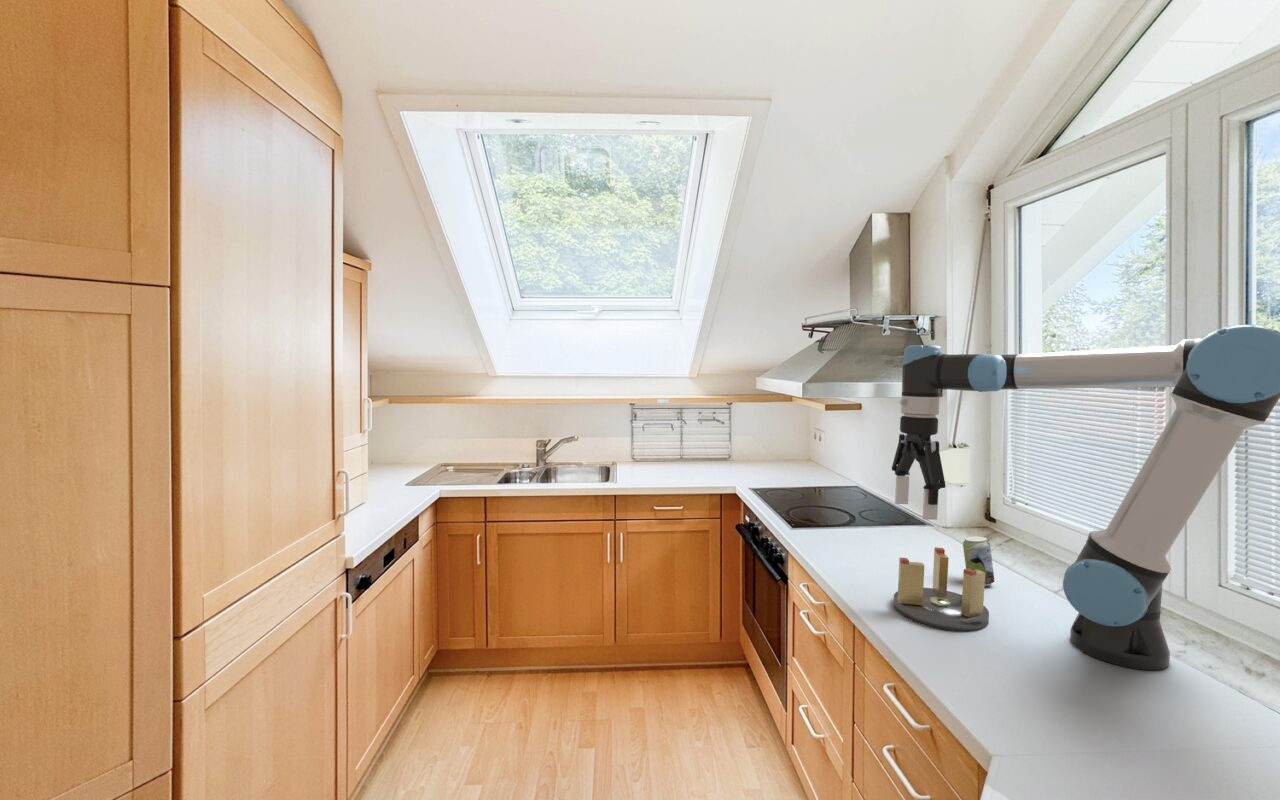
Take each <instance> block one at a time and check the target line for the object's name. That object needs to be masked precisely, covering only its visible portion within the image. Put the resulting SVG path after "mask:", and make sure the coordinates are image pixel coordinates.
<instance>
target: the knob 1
mask: <svg viewBox="0 0 1280 800" xmlns="http://www.w3.org/2000/svg"><path fill="white" fill-rule="evenodd" d="M898 559H899V560H898V561H899V562H898V581H897V582H898V583H897V591H898V602H899V603H902V604H914V605H923V588H924V583H925V581H924V580H925V564H924V563H923V562H918V561H910V559H908V557H899V558H898Z"/></svg>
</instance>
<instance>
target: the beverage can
mask: <svg viewBox="0 0 1280 800" xmlns="http://www.w3.org/2000/svg"><path fill="white" fill-rule="evenodd" d="M962 548H963V557H964V564H965V569H967V568H969V569H972V570H980V571H983V572H985V585H984V587H987V586H991V585H992V584H993V583H995V582H996V581H995V574H994V566H993V557H992V550H991V549H992V548H991V543H990V542H989V541H988V539H987V537H985V536H980V535H971V536H966V537H965V538H964V540H963V542H962Z"/></svg>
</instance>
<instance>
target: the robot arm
mask: <svg viewBox="0 0 1280 800" xmlns="http://www.w3.org/2000/svg"><path fill="white" fill-rule="evenodd" d="M903 351H904V352H903V357H902V358H903V359H902V365H901V368H902V374H901V375H902V377H901V379H902V380H901V400H899V404H900V405H901V406H900V412H901V414H903V415H901V416H900V419H899V420H900V422H899V423H900V424H899V430H900V432H901V433H899V437H898V443H897V448H896V451H895V455H894V458H893V462H892V465H891V471H893V472H894V475H895V495H894V497H895V498H894V504H895V505H908V504H909V494H910V493H909V490H910V476H911V474H910V470H911V468H912V465H913V464H914V461H916V462H918V464H919V468H920V470H921V473H922V478H923V480H924V485H923V487H922V488H923V503H922V504H923V505H922V519H923V520H929V521H931V520H937V521H938V509H939V507H938V506H939V490H941V489H945V488H946V480H945V476H944V471H943V470H944V469H943V465H942V461H941V460H942V459H941V453H940V442H939V441H937V440H931V436H933V435H938V432H939V431H938V430H939V418H938V417H936V416H938V415H939V413H940V410H939V409H940V392H941V391H940V390H944V391H945V390H946V391H947V390H951V391H952V390H953V391H965V392H966V391H969V392H979V393H984V392H985V393H989V392H999V391H1001V390H1029V389H1032V390H1036V389H1037V390H1039V389H1041V390H1043V389H1050V390H1052V389H1056V390H1057V389H1110V388H1111V389H1113V388H1114V389H1115V388H1116V389H1120V388H1126V389H1127V388H1128V389H1129V388H1130V389H1131V388H1173V390H1172V392H1171V393H1170V395H1171V398H1172V400H1173V402H1174V403H1175V409H1174V411H1173V413H1172V415H1171V417H1170V418H1169V420H1168V421H1167V424H1166V425H1165V427H1164V429H1163V430H1162V432H1161V434H1160V436H1159V438H1158V439H1157V441H1156V442H1155V444H1154V445H1153V447H1152V449H1151V451H1150V453H1149V454H1148V456H1147V458H1146V460H1145V461H1144V463H1143V465H1142V467H1141V469H1140V470H1139V472H1138V474H1137V475H1136V477H1135V479H1134V481H1133V482H1132V484H1131V486H1130V487H1129V488H1128V491H1127V493H1126V495H1125V496H1124V498H1123V499H1122V501H1121V502H1120V505H1119V507H1118V508H1117V510H1116V511H1115V513H1114V515H1113V517H1112V519H1111V520H1110V521H1109V524H1108V525H1107V527H1106V528H1105V529H1101V530H1100V529H1099V530H1092V531H1090V532H1089V533H1088V535H1087V539H1086V540H1085V544H1084V546H1083V548H1082V549H1081V551H1080V552H1079V555H1078V556H1077V558H1076V560H1075V561H1074V562H1072V563H1071V565H1069V566H1068V567H1067V568H1066V571H1065V573H1064V575H1063V581H1062V588H1063V592H1064V595H1065V597H1066V599H1067V601H1068V603H1069V604H1070V605H1071V606H1072V607H1073V609H1074V610H1075V611H1076V612H1078V613H1077V615H1076V617H1075V619H1074V621H1073V623H1072V625H1071V627H1070V634H1069V636H1070V637H1069V640H1070V643H1071V644H1072V645H1073V646H1074V647H1075V648H1077V649H1078V650H1080V651H1081V652H1083V653H1085V654H1086V655H1089V656H1091V657H1093V658H1096V659H1098V660H1101V661H1104V662H1105V663H1106V662H1107V663H1110V664H1113V665H1116V666H1117V665H1118V666H1120V667H1125V668H1130V669H1137V670H1143V671H1144V670H1147V671H1158V670H1163V669H1166V668H1167V667H1169V666H1170V656H1171V654H1170V649H1169V645H1168V643H1167V639H1166V637H1165V633H1164V629H1163V627H1162V624H1161V608H1162V599H1163V598H1162V596H1163V595H1162V594H1163V583H1164V581H1165V580H1166V578H1167V577H1168V575H1169V573H1170V572H1171V570H1172V569H1171V565H1170V563H1169V561H1168V558H1167V555H1168V552H1169V551H1170V549H1171V548H1172V546H1173V544H1174V543H1175V541H1176V539H1177V538H1178V536H1179V535H1180V533H1181V532H1182V530H1183V528H1184V527H1185V525H1186V524H1187V523H1188V520H1189V519H1190V518H1191V516H1192V514H1193V513H1194V511H1195V509H1196V508H1197V506H1198V505H1199V503H1200V502H1201V500H1202V498H1203V496H1204V495H1205V493H1206V491H1207V490H1208V489H1209V487H1210V485H1211V484H1212V482H1213V481H1214V479H1215V478H1216V476H1217V474H1218V472H1219V471H1220V469H1221V468H1222V466H1223V464H1224V463H1225V461H1226V460H1227V458H1228V457H1229V455H1230V453H1231V452H1232V450H1233V449H1234V447H1235V445H1236V444H1237V442H1238V440H1239V439H1240V437H1241V436H1242V434H1243V432H1244V431H1245V430H1246V429H1248V428H1251V427H1255V426H1258V425H1262V424H1265V422H1266V421H1267V419H1268V418H1269V416H1270V414H1271V413H1272V411H1273V409H1274V408H1275V407H1276V405H1277V404H1278V402H1279V400H1280V331H1279V330H1276V329H1273V328H1269V327H1267V326H1265V325H1255V324H1250V323H1248V324H1244V323H1242V324H1235V325H1234V324H1233V325H1229V326H1225V327H1221V328H1219V329H1216V330H1214V331H1211V332H1209V333H1208V334H1207V335H1205V336H1204V337H1202V338H1201V337H1200V338H1188V339H1186V338H1185V339H1182V340H1181V341H1180V342H1178V343H1177V344H1175V345H1166V346H1163V345H1160V346H1147V347H1146V346H1145V347H1144V346H1143V347H1142V346H1141V347H1128V348H1123V347H1122V348H1108V349H1105V348H1104V349H1092V350H1091V349H1090V350H1074V351H1073V350H1070V351H1069V350H1068V351H1052V352H1036V353H1031V352H1030V353H1019V354H1015V353H1014V354H1013V353H1012V354H991V353H978V354H976V353H975V354H974V353H973V354H972V353H971V354H969V353H967V354H962V353H961V354H945V353H943V352H942V347H941V346H940V345H935V344H924V345H923V344H912V345H908V346H906V347H905V348H904V350H903Z"/></svg>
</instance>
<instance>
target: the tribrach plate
mask: <svg viewBox="0 0 1280 800" xmlns="http://www.w3.org/2000/svg"><path fill="white" fill-rule="evenodd" d="M893 609H894V610H895V611H896V612H897V613H898V614H899V615H901V616H902V617H904V618H906V619H907V618H908V620H909V619H910V621H911V620H912V622H914V623H916V622H917V624H919V623H920V624H919V625H922V624H923V625H922V626H925V625H926V627H928V626H929V628H932V627H933V629H936V628H937V629H938V630H943V631H948V632H949V631H950V632H960V633H961V632H963V633H965V632H966V633H968V632H977V631H980V630H981V631H982V630H983V629H985V628H987V627H988V625H989V624H990V623H989V621H990V619H989V618H990V611H989V609H988V608H987V607H986V606H985V605H984V604H983V613H982V614H979V615H976V616H973V617H970V618H969V617H967V616H964V615H962V614H961V610H962V594H960V593H957V592H955V591H949V590H947V596H941V595H938V594H937V593H936V592H935V590H934V589H933V587H923V605H914V604H902V603H899V602H898V590H897V591H895V593H894V595H893ZM937 629H936V630H937Z"/></svg>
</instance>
